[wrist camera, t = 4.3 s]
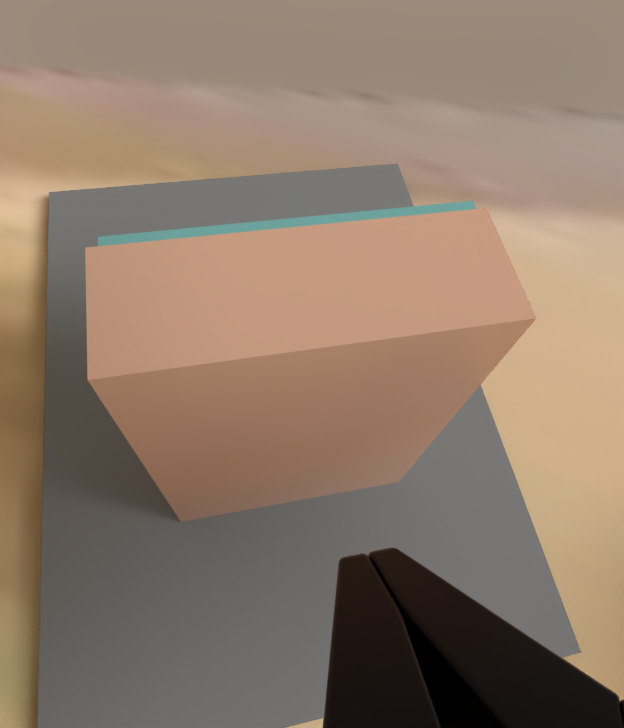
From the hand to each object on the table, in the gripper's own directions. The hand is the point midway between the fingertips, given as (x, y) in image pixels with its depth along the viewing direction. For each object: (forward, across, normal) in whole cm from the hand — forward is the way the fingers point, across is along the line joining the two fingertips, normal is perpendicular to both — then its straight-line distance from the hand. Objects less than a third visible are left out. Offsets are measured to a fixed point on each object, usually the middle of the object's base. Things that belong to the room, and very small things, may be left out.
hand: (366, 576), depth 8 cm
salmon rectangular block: (+9, 0, +3) cm, 10 cm away
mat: (+12, 0, +2) cm, 12 cm away
